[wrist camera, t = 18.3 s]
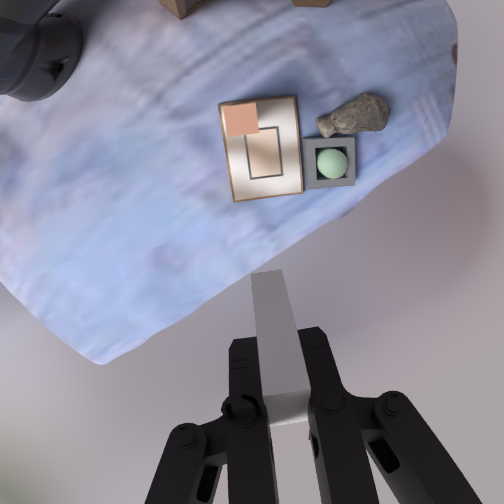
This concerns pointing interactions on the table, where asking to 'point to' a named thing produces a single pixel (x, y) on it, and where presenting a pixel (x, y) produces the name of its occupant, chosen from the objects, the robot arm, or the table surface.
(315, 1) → the photo frame
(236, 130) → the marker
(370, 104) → the stone
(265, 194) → the cream rectangular board
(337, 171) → the button
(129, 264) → the table surface
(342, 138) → the button housing
